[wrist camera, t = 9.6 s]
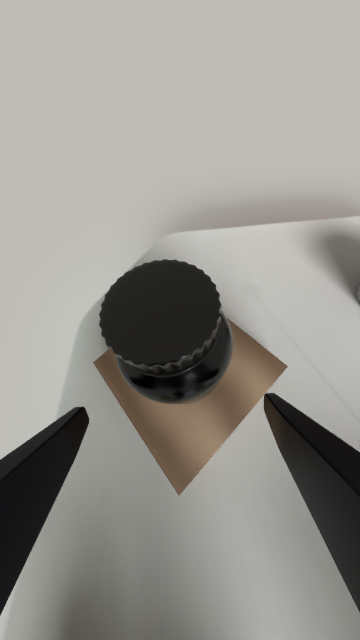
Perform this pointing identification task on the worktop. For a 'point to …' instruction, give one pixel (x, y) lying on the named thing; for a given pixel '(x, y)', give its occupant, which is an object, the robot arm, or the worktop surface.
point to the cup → (358, 293)
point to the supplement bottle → (167, 331)
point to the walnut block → (196, 409)
